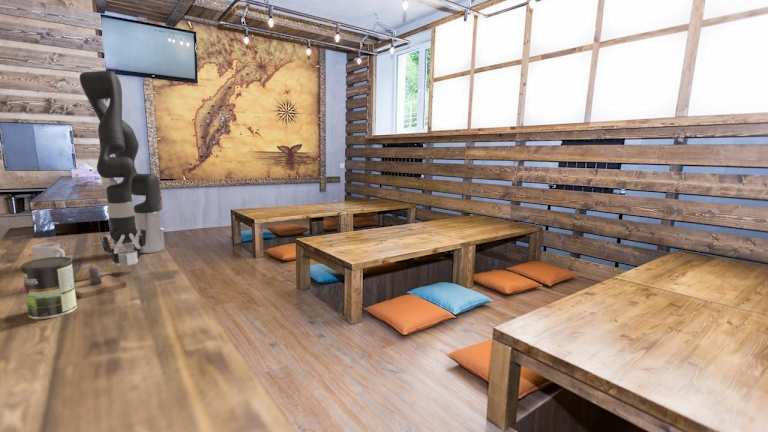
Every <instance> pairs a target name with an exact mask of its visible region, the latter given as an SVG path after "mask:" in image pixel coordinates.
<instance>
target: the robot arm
mask: <svg viewBox="0 0 768 432" xmlns="http://www.w3.org/2000/svg"><path fill="white" fill-rule="evenodd" d="M79 83H80V86H81V88H82V91H83V92H84V94H85V96H86V98H87V100H88V101H89V104H90V105H91V107H92V110H94V113H95V115H96V116H97V119H98V120H99V124H98V126H97V127H98V128H97V131H98V132H97V133H98V134H97V135H98V137H99V138H98V139H99V148H100V149H99V156H98V159H97V164H96V171H97V173H98V175H99V176H100V177H102V178H104V179H112V178H113V179H115V178H119V179H121V178H122V181H121V182H119V183H115V184H114V183H113V184H110V185H108V186H107V187H106V198H107V214H108V222H109V223H108V224H109V230H110V232H109V234H107V235H101V236H100V238H99V239H100V240H101V244H102V247H103V251H104V252H105V253H108V254H111V260H112V262H113V263H115V264H118V263H119V256H118V255H119V254H118V253H117V252H119V249H120V248H121V246H122V245H123V244H124V245H125V244H127V243H128V244H129V243H130V245H132V247H133V249H132V250H135V251H137V256H138V260H140V258H141V255H142V254H153V253H157V252H161V251H162V250H165V249H166V248H164V247H165V246H166V245H165V235H164V228H163V227H162V225H161V214H160V212H161V211H160V204H161V195H160V193H161V192H160V191H161V190H160V189H161V187H160V181H159V178H158V176H157V174H154V173H153V174H152V173H138V171H137V169H136V166H135V160H136V157H137V154H138V152H139V148H140V147H139V146H140V144H139V141H138V138H137V136H136V133H135V131H134V129H133V128H132V127H131V126H130V124H129V123H127V122H126V121H124V120H123V90H122V84H121V80H120V78H119V76H118V75H117V74H116V72H115V71H113V70H98V71H85V72H82V73H80V74H79ZM104 99H105V100H106V99H109V104H108V106H107V105H106V103H105V102H104ZM112 155H114V156H112ZM132 195H133V196H142V197H143V196H145V199H144V201H143V202H141V203H137V204H133V196H132ZM111 239H112V240H113V241H112V244H111V245H110V241H111Z"/></svg>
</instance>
